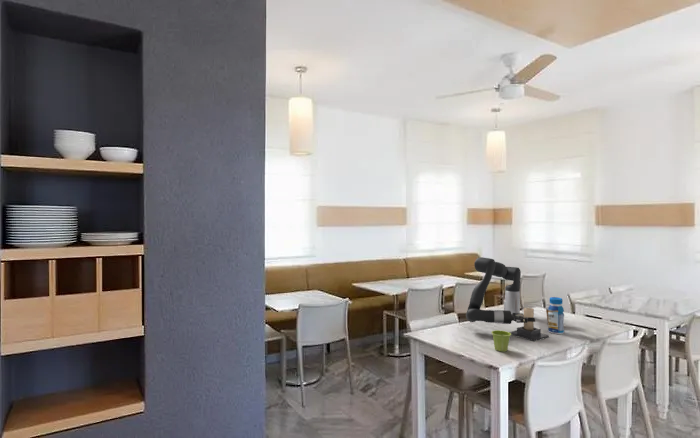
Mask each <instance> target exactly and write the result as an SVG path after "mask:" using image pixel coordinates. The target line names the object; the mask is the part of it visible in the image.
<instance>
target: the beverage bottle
mask: <svg viewBox="0 0 700 438" xmlns="http://www.w3.org/2000/svg"><path fill="white" fill-rule="evenodd" d="M549 305H550V306H549V308H548V310H549V312H548V321H547V325H548V328H547V332H549V333H551V334H554V335H563V334H564V332H565V328H564V326H565V323H564V320H565V314H564V312H565V310H564V306H563V298H562V297H557V296H556V297H555V296H553V297H552V296H551V297H549Z"/></svg>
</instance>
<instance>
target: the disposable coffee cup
mask: <svg viewBox="0 0 700 438" xmlns="http://www.w3.org/2000/svg"><path fill="white" fill-rule="evenodd" d="M550 305H551V304H546V305H545V307H544V308H545V312H546V319H547V322H548V312H549V310H548V308H549V306H550Z"/></svg>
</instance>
